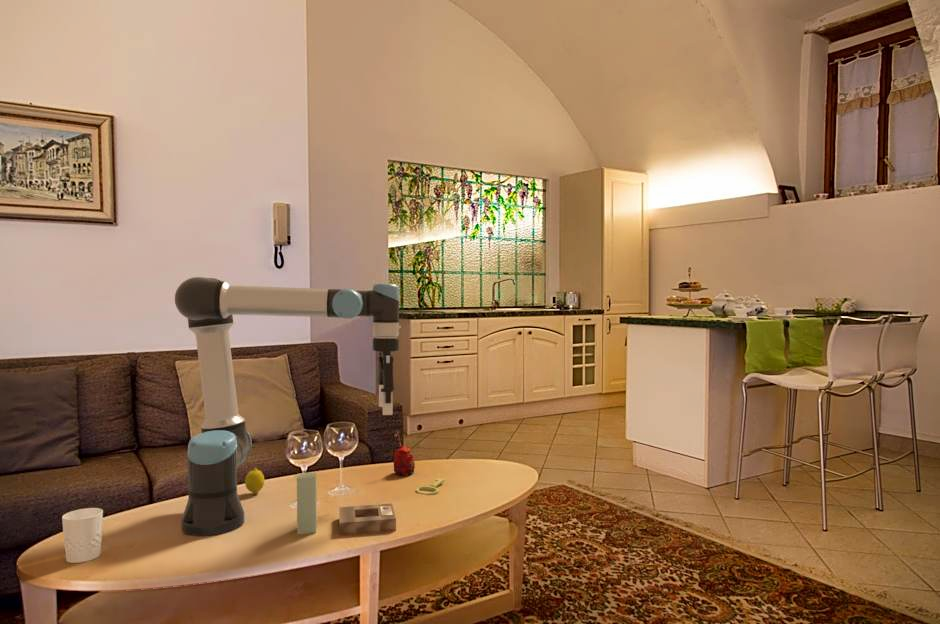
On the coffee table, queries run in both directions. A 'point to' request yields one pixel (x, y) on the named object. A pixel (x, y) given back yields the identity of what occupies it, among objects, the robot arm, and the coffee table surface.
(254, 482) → the fruit
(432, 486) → the key
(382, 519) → the socket block
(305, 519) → the sage peg
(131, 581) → the coffee table surface
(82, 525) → the white cup
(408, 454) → the red clay folk toy
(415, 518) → the coffee table surface
